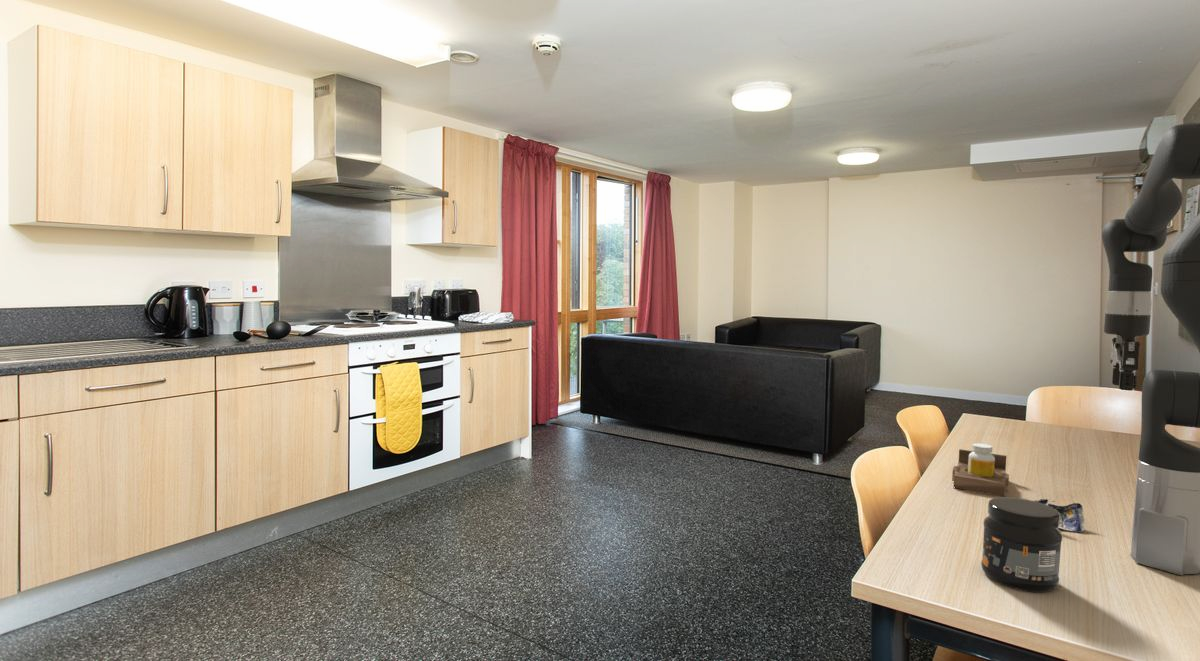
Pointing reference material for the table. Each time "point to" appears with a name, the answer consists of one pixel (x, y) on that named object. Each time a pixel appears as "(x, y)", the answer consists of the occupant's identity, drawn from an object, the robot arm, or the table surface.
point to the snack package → (1069, 515)
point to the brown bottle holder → (981, 483)
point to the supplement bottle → (981, 460)
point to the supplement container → (1022, 544)
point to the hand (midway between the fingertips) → (1121, 387)
